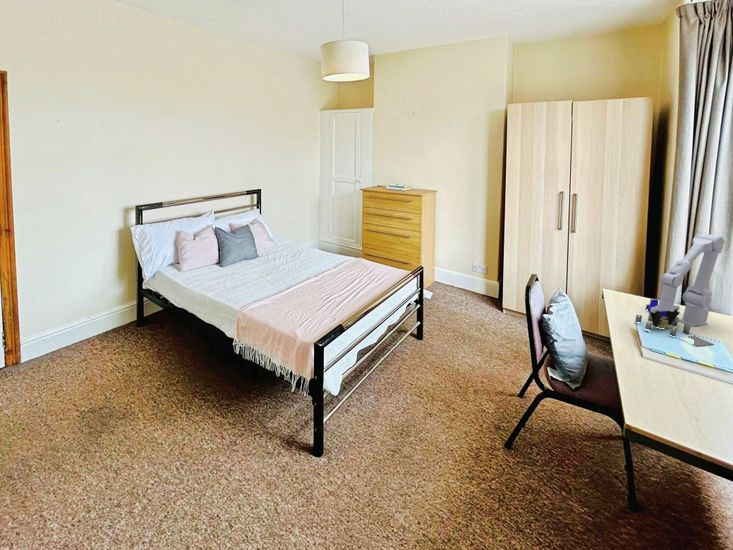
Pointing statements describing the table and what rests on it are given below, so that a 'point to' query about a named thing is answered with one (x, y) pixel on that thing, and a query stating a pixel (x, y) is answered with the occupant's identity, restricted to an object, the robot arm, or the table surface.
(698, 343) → the mat
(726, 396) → the table surface
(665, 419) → the table surface
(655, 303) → the cable clip
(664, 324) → the brass nut
